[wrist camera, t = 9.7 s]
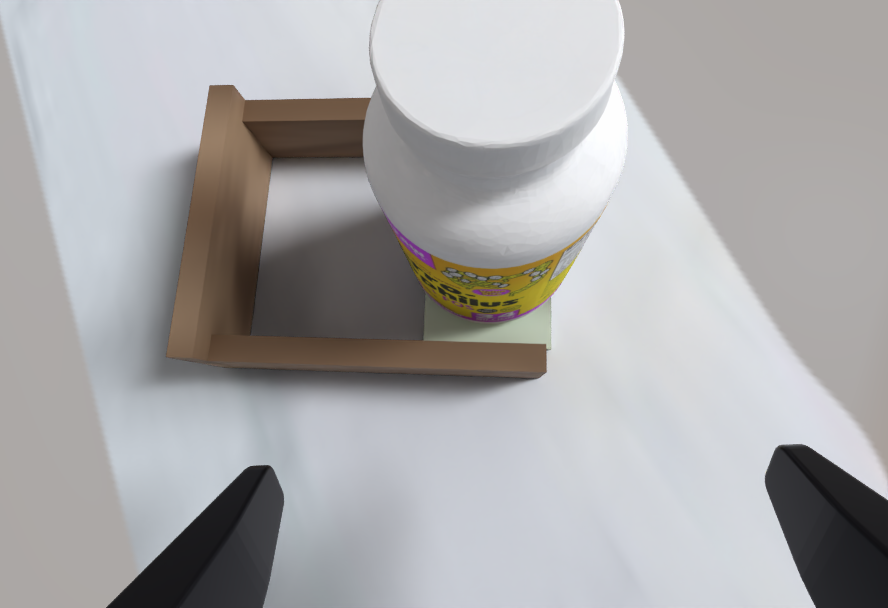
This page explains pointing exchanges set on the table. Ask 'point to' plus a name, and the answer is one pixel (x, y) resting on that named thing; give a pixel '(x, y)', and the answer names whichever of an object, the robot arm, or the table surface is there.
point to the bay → (239, 247)
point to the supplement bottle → (494, 142)
